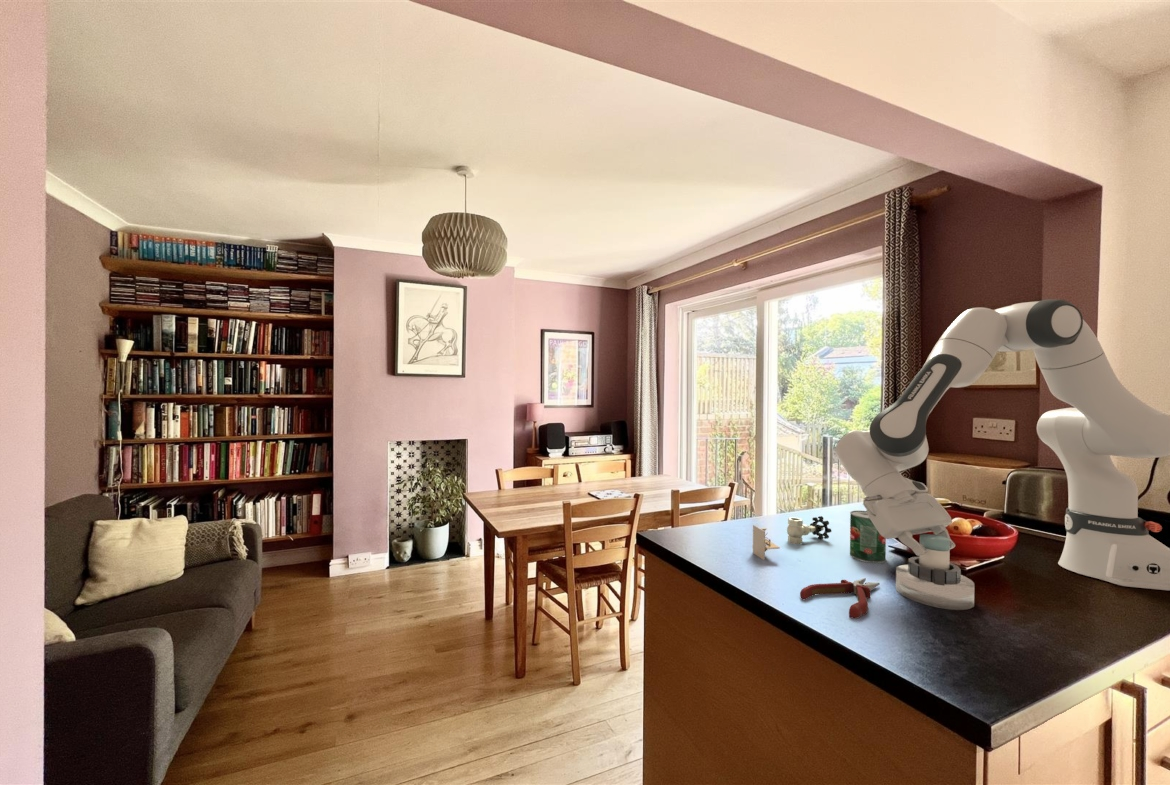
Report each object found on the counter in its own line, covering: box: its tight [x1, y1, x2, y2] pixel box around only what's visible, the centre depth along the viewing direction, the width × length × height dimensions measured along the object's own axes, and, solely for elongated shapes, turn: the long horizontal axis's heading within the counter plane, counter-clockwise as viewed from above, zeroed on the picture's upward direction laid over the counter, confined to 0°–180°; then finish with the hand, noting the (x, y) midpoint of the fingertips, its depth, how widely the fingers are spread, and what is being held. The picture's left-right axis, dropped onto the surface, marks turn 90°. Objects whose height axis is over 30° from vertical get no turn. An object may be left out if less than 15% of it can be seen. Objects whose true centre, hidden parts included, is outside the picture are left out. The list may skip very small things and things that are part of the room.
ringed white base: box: [895, 556, 975, 611], centre depth 98 cm, size 13×16×7 cm
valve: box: [786, 515, 832, 545], centre depth 132 cm, size 7×7×12 cm
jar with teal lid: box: [918, 533, 951, 570], centre depth 97 cm, size 5×5×8 cm
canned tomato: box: [849, 510, 887, 564], centre depth 119 cm, size 8×8×11 cm
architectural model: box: [752, 524, 780, 561], centre depth 118 cm, size 3×7×7 cm, turn 9°
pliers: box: [799, 577, 881, 619], centre depth 96 cm, size 12×20×3 cm, turn 126°
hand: (937, 551), depth 96 cm, fingers open, 8 cm apart
